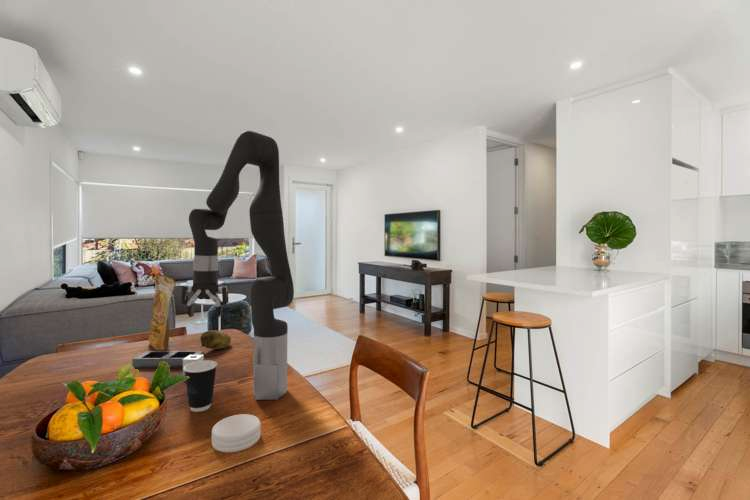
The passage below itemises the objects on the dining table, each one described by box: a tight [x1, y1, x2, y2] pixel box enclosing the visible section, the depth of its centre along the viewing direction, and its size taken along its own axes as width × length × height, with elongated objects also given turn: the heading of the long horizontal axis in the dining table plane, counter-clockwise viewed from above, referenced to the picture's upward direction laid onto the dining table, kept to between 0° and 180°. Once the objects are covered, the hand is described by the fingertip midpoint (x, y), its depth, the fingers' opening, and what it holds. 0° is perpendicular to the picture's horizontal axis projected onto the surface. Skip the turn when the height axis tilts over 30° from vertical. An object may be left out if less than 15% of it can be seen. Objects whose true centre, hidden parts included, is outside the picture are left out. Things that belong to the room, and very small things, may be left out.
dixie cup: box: [182, 359, 218, 412], centre depth 91 cm, size 8×8×11 cm
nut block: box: [182, 354, 205, 376], centre depth 113 cm, size 4×4×6 cm
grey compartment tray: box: [131, 350, 205, 369], centre depth 121 cm, size 8×20×3 cm, turn 94°
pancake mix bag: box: [148, 274, 177, 351], centre depth 141 cm, size 7×19×28 cm, turn 44°
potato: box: [200, 329, 232, 350], centre depth 138 cm, size 8×13×8 cm, turn 140°
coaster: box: [211, 413, 262, 453], centre depth 77 cm, size 10×10×4 cm
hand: (204, 316), depth 117 cm, fingers open, 8 cm apart
